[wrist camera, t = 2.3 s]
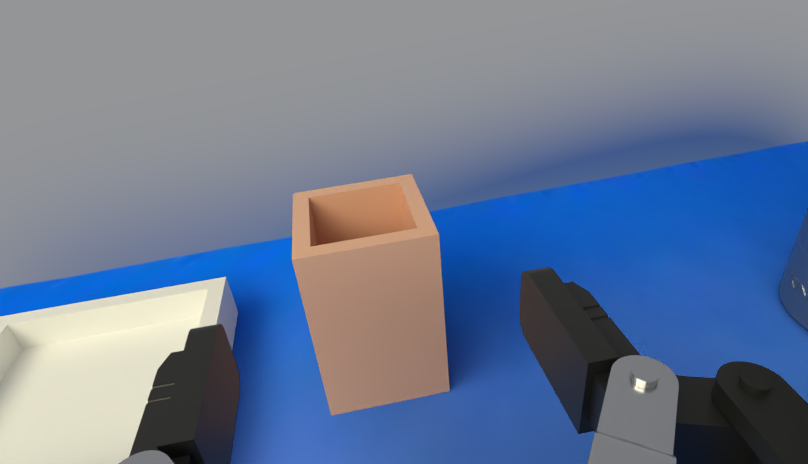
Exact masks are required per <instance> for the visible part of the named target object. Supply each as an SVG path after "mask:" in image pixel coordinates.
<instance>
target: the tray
mask: <svg viewBox="0 0 808 464" xmlns="http://www.w3.org/2000/svg"><path fill="white" fill-rule="evenodd" d="M237 316H238V310H237V307H236V304H235V301H234V299H233V296H232V293H231V290H230V287H229V284H228V281H227V278H226V277H222V278H216V279H210V280H205V281H199V282H193V283H188V284H182V285H176V286H171V287H165V288H159V289H154V290H148V291H142V292H137V293H131V294H125V295H120V296H114V297H108V298H103V299H97V300H91V301H86V302H80V303H74V304H69V305H63V306H57V307H52V308H46V309H40V310H35V311H29V312H23V313H18V314H12V315H6V316H1V317H0V464H119V463H120V462H121V461H123V460H124V459H126V458H128V457H129V455H130V452H131V449H132V446H133V443H134V440H135V437H136V434H137V431H138V428H139V425H140V422H141V419H142V415H143V412H144V409H145V406H146V404H148V397H149V394H150V391H151V389H152V385H153V382H154V379H155V376H156V373H157V370H158V368H159V367H160V366H161V364H162V363H163V362H164V361H165V360H166V358H167V357H168V356H169V355H170V353H172V352H178V351H183V350H184V347H185V343H186V340H187V336H188V333H189V331H190V329H193V328H199V327H204V326H210V325H216V324H222V325H223V327H224V329H225V332H226V335H227V338H228V341H229V344H230V346H231V349H233V342H234V336H235V329H236V323H237Z"/></svg>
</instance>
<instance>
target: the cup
mask: <svg viewBox="0 0 808 464" xmlns="http://www.w3.org/2000/svg"><path fill="white" fill-rule="evenodd" d="M292 262H293V266H294V270H295V274H296V278H297V282H298V286H299V290H300V294H301V298H302V302H303V306H304V310H305V313H306V317H307V321H308V325H309V329H310V333H311V337H312V341H313V345H314V349H315V353H316V357H317V361H318V365H319V369H320V373H321V377H322V381H323V385H324V389H325V393H326V397H327V401H328V405H329V408H330V412H331V416H332V415H337V414H342V413H347V412H351V411H356V410H361V409H366V408H371V407H375V406H380V405H385V404H390V403H395V402H400V401H404V400H409V399H414V398H419V397H424V396H428V395H433V394H438V393H443V392H448V391H450V387H449V373H448V358H447V343H446V329H445V314H444V299H443V285H442V270H441V255H440V241H439V233H438V231H437V229H436V226H435V224H434V222H433V220H432V218H431V215H430V213H429V211H428V209H427V207H426V205H425V202H424V200H423V198H422V196H421V194H420V192H419V189H418V187H417V185H416V183H415V181H414V178H413V176H412V175H411V174H409V175H403V176H397V177H391V178H385V179H378V180H373V181H366V182H360V183H354V184H348V185H342V186H335V187H329V188H323V189H317V190H311V191H304V192H298V193H293V228H292Z"/></svg>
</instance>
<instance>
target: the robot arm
mask: <svg viewBox="0 0 808 464" xmlns="http://www.w3.org/2000/svg"><path fill="white" fill-rule="evenodd" d="M779 295H780V298H781V301H782V303H783V305H784V307H785V308H786V309H787V311H788V312H789V313H790V315H791V316H792V317H793V318H794V319H795V320H797V321H798V322H799V323H800V324H801V325H802V326H803V327H804V328H806V329H807V330H808V209H807V211H806V214H805V217H804V220H803V222H802V225H801V228H800V230H799V233H798V236H797V238H796V241H795V244H794V247H793V249H792V252H791V255H790V258H789V260H788V263H787V266H786V269H785V271H784V274H783V277H782V280H781V283H780V286H779ZM520 324H521V328H522V332H523V334H524V337H525V339H526V341H527V342H528V344H529V346H530V348H531V350H532V351H533V353H534V355H535V357H536V359H537V360H538V362H539V364H540V366H541V368H542V369H543V371H544V373H545V375H546V377H547V378H548V380H549V382H550V384H551V385H552V387H553V389H554V391H555V393H556V394H557V396H558V398H559V400H560V402H561V403H562V405H563V407H564V409H565V411H566V412H567V414H568V416H569V418H570V420H571V421H572V423H573V425H574V427H575V429H576V430H577V432H578V434H581V433H586V432H590V431H594V432H595V435H594V439H593V443H592V447H591V451H590V456H589V460H588V464H808V403H807V402H806V401H805V400H804V399H803V398H802V397H801V396H800V395H799V394H798V393H797V392H796V391H795V390H794V389H793V388H792V387H791V386H790V385H789V384H788V383H787V382H786V381H785V380H784V379H782V378H781V377H780V376H779V375H777V374H776V373H775V372H773V371H771V370H769V369H767V368H765V367H763V366H760V365H757V364H753V363H749V362H739V361H737V362H730V363H727V364H724V365H723V366H721V367H720V368H719V370H718V372H717V375H716V378H703V377H688V376H678V375H675V374H674V373H673V371H672V370H671V369H670V368H669V367H667V366H666V365H665V364H663V363H661V362H660V361H658V360H655V359H653V358H650V357H646V356H641V355H640V354H639V353H638V352H637V350H636V349H635V348H634V347H633V345H632V344H631V343H630V342H629V341H628V339H627V338H626V337H625V336H624V334H623V333H622V332H621V331H620V329H619V328H618V327H617V326H616V324H615V323H614V322H613V321H612V320H611V318H608V315H607V313H606V312H605V311H604V310H603V308H602V307H600V305H599V303H598V302H597V301H596V300H595V299H594V297H593V296H592V295H591V294H590V292H589V291H587V290H585V289H584V288H582V287H580V286H579V285H577V284H575V283H574V282H569V283H563V282H562V280H561V279H560V278H559V276H558V275H557V274H556V272H555V271H554V270H553V269H552V268H550V267H547V268H542V269H536V270H530V271H525V272H523V273H522V276H521V293H520ZM239 393H240V378H239V371H238V367H237V364H236V361H235V358H234V355H233V352H232V349H231V346H230V344H229V341H228V338H227V335H226V332H225V329H224V327H223V325H222V324H216V325H210V326H204V327H199V328H193V329H190V331H189V333H188V336H187V340H186V343H185V347H184V350H183V351H178V352H172V353H170V355H169V356H168V357H167V358H166V360H165V361H164V362H163V363H162V364H161V366H160V367H159V368H158V370H157V373H156V376H155V379H154V382H153V385H152V389H151V391H150V394H149V397H148V404H146V406H145V409H144V412H143V415H142V419H141V422H140V425H139V428H138V431H137V434H136V437H135V440H134V443H133V446H132V449H131V452H130V455H129V457H128V458H126V459H124V460H123V461H121V462H120V463H119V464H230V461H231V453H232V446H233V438H234V431H235V423H236V416H237V408H238V400H239Z"/></svg>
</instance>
